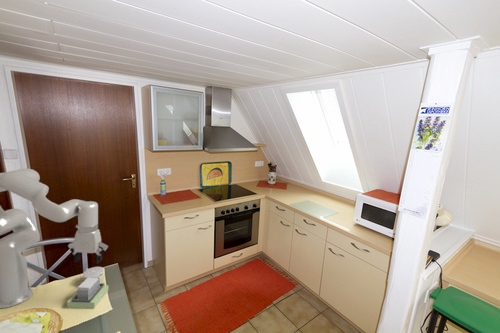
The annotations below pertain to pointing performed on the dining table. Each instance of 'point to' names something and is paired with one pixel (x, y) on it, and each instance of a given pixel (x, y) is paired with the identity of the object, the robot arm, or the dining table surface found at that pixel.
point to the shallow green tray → (92, 300)
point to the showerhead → (93, 272)
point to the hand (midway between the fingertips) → (88, 261)
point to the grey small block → (88, 288)
